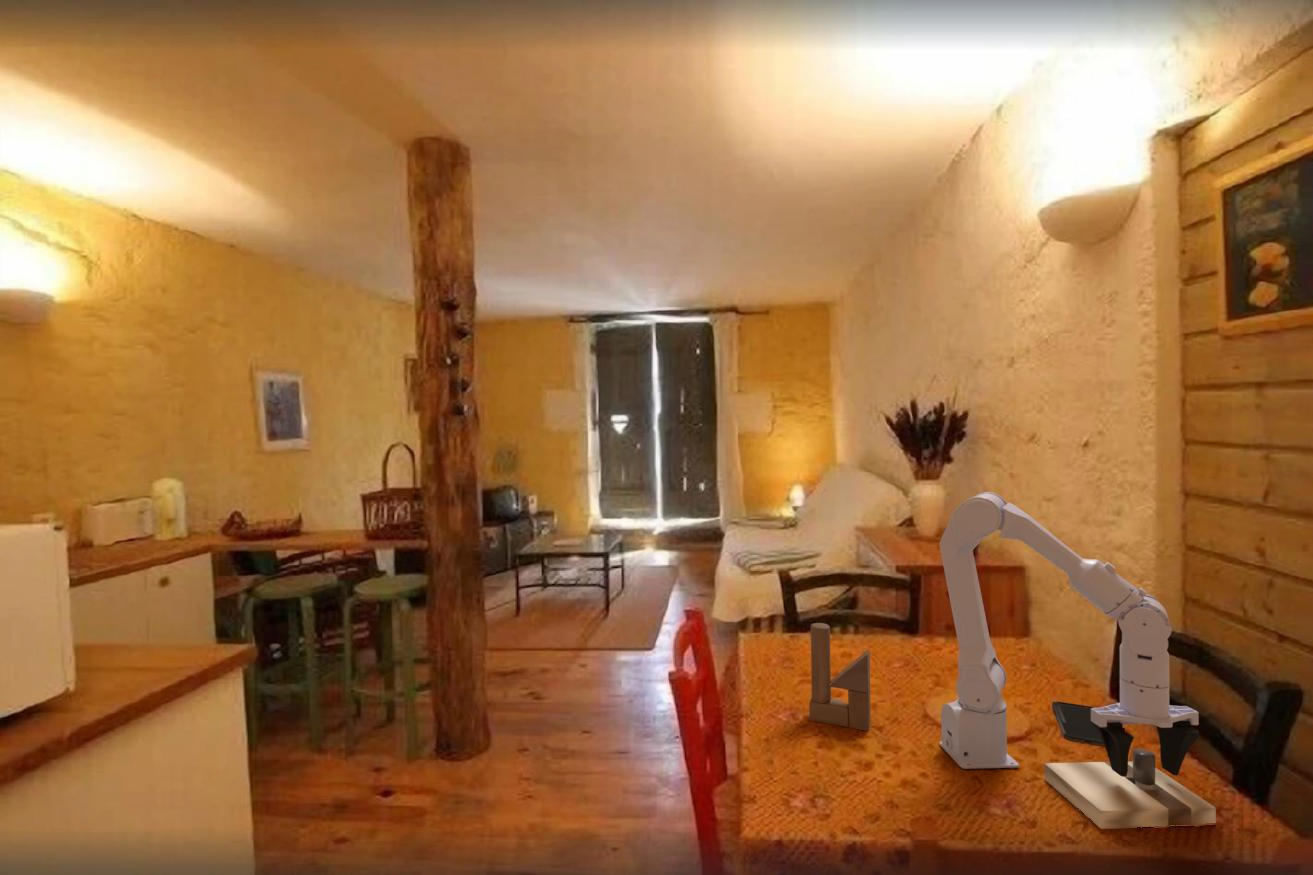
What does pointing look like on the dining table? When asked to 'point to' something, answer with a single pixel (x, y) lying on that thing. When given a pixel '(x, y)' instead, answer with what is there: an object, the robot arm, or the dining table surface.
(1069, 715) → the phone
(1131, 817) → the board
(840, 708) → the wooden block
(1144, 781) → the grey cylinder
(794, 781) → the dining table surface
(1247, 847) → the dining table surface
